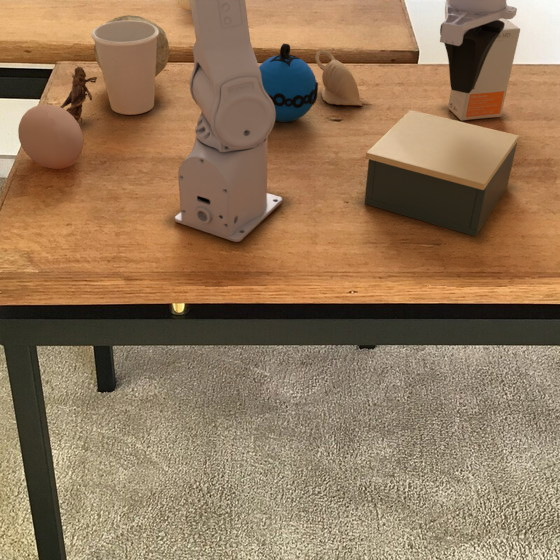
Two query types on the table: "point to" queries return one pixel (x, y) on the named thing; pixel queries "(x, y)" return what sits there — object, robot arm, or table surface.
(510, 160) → the chest
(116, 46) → the dixie cup
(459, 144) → the lid
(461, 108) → the cosmetic box
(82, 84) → the insect
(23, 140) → the egg
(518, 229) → the table surface
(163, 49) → the sculpture
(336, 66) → the decorative ornament
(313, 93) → the ornament
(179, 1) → the cup
